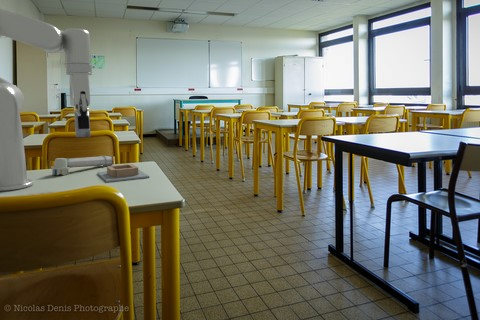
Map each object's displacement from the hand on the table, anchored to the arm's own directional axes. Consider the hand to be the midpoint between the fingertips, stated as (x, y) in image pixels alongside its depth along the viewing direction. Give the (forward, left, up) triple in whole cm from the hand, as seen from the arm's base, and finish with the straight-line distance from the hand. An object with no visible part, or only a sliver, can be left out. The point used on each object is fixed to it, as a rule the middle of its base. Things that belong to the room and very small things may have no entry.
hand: (82, 127), depth 127 cm
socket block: (+12, +2, -18) cm, 21 cm away
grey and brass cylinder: (0, 0, -3) cm, 3 cm away
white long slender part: (+2, +21, -18) cm, 27 cm away
